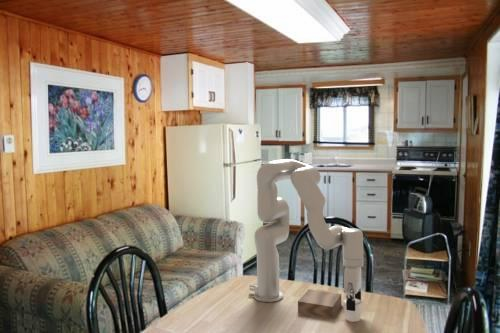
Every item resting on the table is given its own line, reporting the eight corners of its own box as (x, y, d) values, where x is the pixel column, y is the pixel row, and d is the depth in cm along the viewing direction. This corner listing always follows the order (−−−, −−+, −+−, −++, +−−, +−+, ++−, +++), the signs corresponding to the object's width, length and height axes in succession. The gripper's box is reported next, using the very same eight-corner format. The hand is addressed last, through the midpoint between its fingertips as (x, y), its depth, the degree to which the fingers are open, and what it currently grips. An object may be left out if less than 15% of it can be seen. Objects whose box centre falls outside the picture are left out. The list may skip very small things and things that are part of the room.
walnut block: (297, 313, 178) (297, 301, 177) (308, 300, 191) (308, 289, 190) (332, 319, 172) (332, 306, 172) (341, 305, 185) (341, 294, 184)
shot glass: (362, 323, 168) (362, 304, 167) (343, 321, 169) (343, 303, 168) (361, 315, 174) (361, 297, 174) (343, 314, 176) (343, 296, 175)
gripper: (348, 254, 179) (349, 296, 180) (337, 267, 163) (338, 312, 165) (367, 256, 175) (368, 298, 177) (358, 269, 160) (358, 315, 161)
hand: (353, 305), depth 171 cm, fingers open, 9 cm apart
